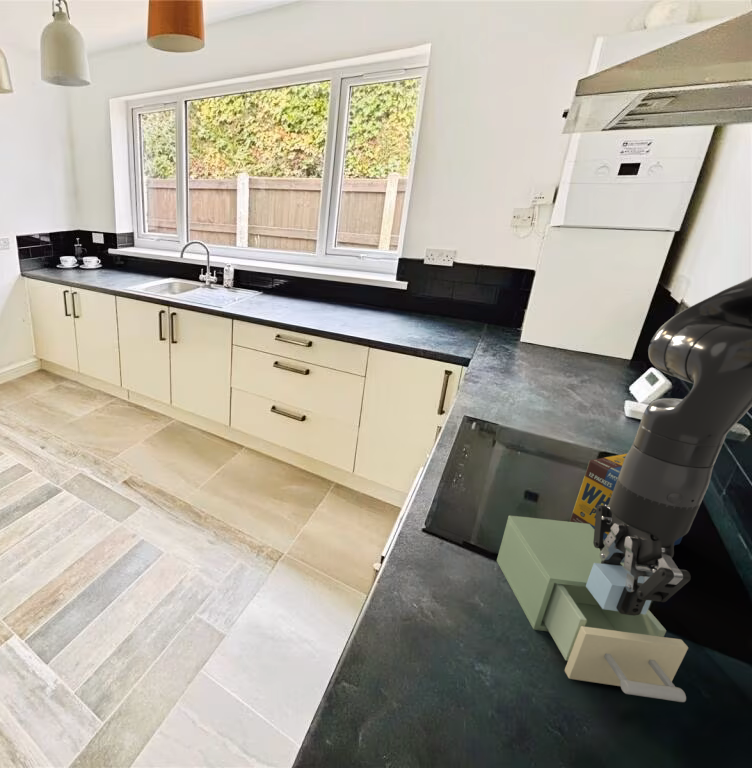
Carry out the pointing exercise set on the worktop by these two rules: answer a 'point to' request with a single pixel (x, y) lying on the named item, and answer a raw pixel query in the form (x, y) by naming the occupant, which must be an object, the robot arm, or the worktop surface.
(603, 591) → the block
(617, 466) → the protein box
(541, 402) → the worktop surface
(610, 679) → the drawer
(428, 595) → the worktop surface
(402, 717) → the worktop surface
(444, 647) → the worktop surface
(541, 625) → the cabinet
